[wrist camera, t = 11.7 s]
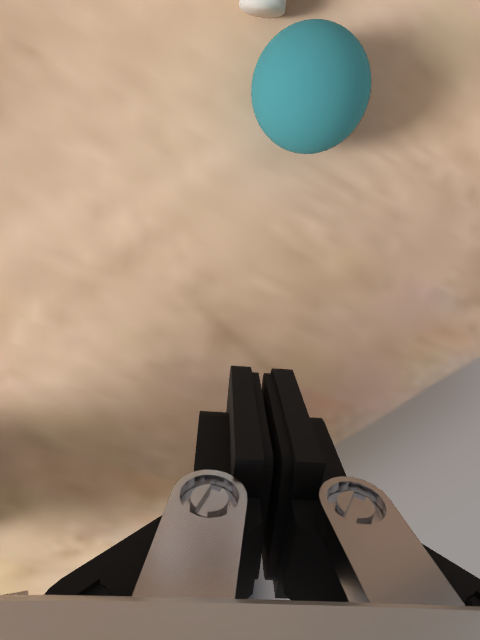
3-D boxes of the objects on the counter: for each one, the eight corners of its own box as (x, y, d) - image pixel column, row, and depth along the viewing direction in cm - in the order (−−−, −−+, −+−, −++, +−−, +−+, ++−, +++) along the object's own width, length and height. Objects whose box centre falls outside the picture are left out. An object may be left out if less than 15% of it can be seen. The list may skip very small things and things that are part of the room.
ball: (354, 36, 23) (296, 136, 27) (271, -23, 20) (216, 101, 23) (419, 78, 20) (343, 188, 23) (331, 16, 16) (257, 155, 20)
